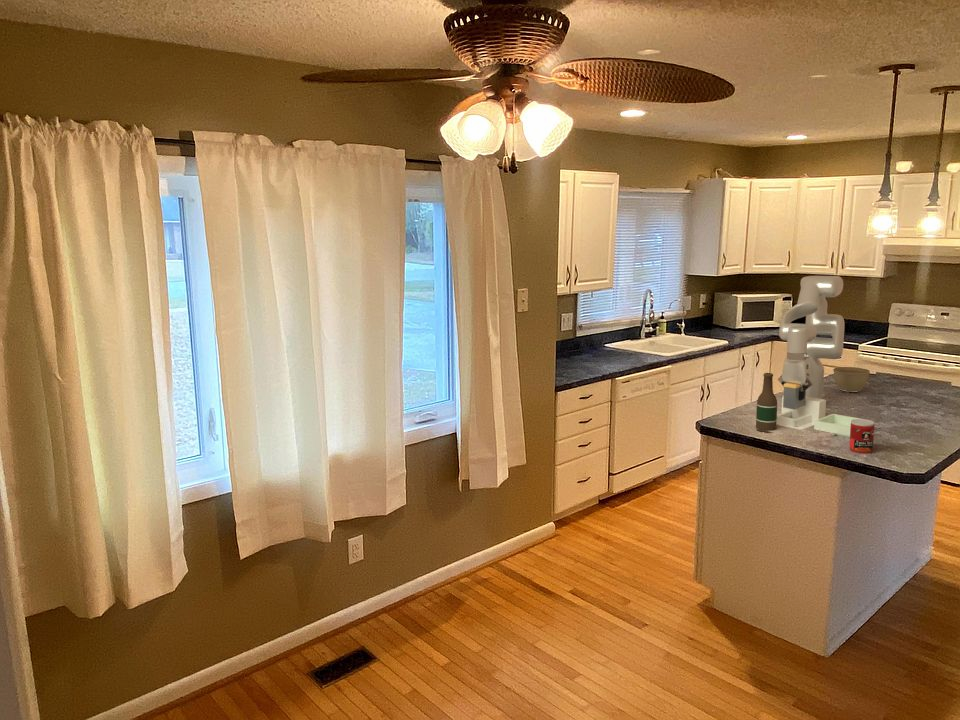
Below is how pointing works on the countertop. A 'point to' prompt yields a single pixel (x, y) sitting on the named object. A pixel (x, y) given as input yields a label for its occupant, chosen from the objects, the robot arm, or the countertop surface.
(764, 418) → the beer bottle
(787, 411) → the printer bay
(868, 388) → the countertop surface
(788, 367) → the robot arm
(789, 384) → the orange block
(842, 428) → the tray
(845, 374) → the planter bowl
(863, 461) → the countertop surface
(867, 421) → the canned food
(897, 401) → the countertop surface
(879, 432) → the countertop surface
